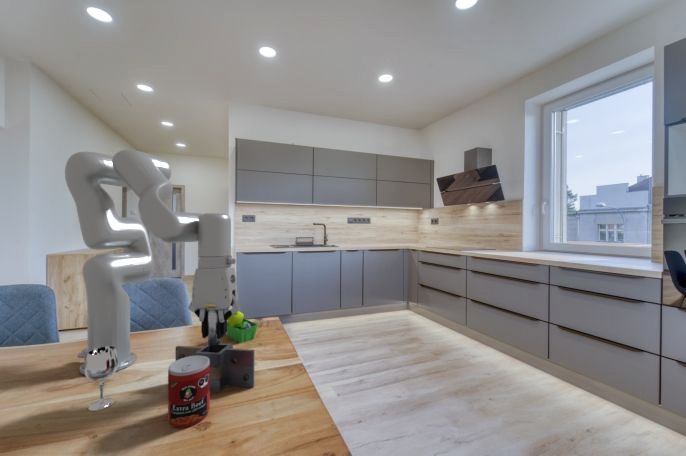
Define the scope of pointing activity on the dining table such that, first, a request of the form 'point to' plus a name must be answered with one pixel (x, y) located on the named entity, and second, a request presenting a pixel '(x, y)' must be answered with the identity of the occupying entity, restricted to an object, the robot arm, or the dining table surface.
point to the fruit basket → (240, 328)
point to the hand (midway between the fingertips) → (214, 335)
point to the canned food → (188, 391)
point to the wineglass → (101, 371)
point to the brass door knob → (212, 324)
